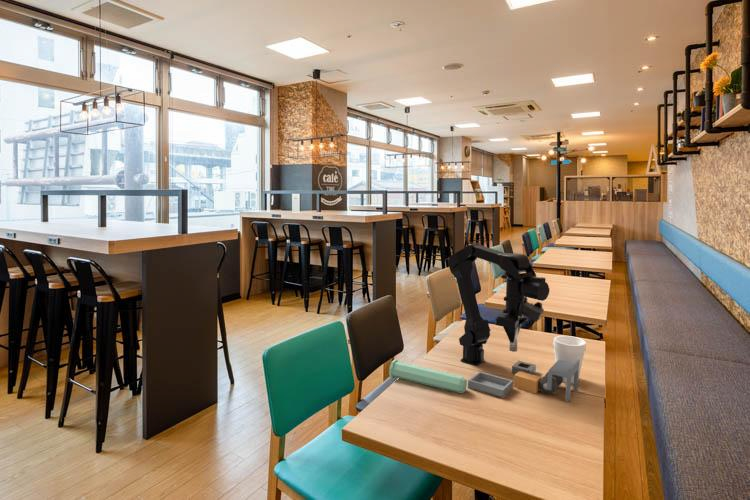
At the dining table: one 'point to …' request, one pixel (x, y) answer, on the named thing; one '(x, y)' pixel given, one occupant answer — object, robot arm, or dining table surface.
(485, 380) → the tray
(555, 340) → the foam cup
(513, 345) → the pin
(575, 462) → the dining table surface
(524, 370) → the pin bracket
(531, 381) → the block
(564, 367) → the grey wheeled cart
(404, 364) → the container
